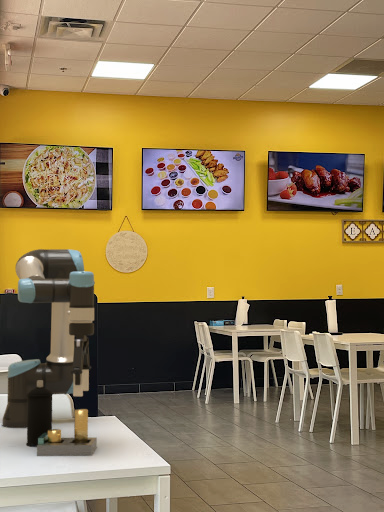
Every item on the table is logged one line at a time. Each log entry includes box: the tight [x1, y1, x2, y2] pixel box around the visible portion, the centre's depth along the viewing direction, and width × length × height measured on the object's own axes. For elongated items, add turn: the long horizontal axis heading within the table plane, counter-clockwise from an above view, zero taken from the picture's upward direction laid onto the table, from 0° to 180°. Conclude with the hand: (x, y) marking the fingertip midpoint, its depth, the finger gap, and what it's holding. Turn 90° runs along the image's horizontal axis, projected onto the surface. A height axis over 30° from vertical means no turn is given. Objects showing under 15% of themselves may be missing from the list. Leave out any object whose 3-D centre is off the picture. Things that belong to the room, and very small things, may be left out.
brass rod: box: [73, 408, 89, 443], centre depth 222 cm, size 4×4×12 cm
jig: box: [36, 428, 98, 457], centre depth 221 cm, size 12×16×6 cm
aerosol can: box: [25, 380, 54, 448], centre depth 233 cm, size 8×8×20 cm
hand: (81, 393), depth 222 cm, fingers open, 12 cm apart
